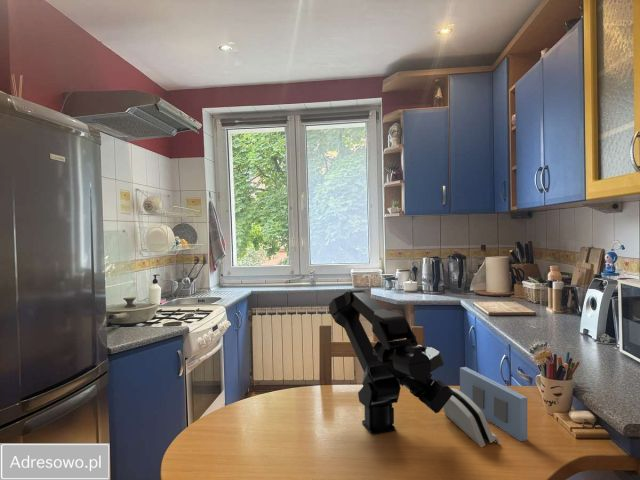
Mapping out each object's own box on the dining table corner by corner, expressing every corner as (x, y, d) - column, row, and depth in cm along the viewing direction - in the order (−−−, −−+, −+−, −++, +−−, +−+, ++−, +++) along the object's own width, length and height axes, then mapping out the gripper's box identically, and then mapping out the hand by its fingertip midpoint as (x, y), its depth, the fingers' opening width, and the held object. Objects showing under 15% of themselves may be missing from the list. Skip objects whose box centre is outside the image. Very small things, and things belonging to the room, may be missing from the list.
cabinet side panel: (518, 441, 92) (518, 399, 91) (458, 402, 113) (458, 367, 112) (527, 439, 92) (527, 397, 92) (465, 401, 113) (465, 366, 113)
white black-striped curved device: (501, 444, 90) (487, 405, 90) (483, 454, 90) (469, 414, 89) (461, 412, 107) (450, 378, 106) (446, 419, 106) (434, 385, 105)
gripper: (445, 350, 86) (488, 394, 89) (403, 329, 103) (440, 366, 107) (413, 391, 84) (457, 434, 87) (376, 362, 102) (414, 398, 105)
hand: (442, 404), depth 97 cm, fingers closed
